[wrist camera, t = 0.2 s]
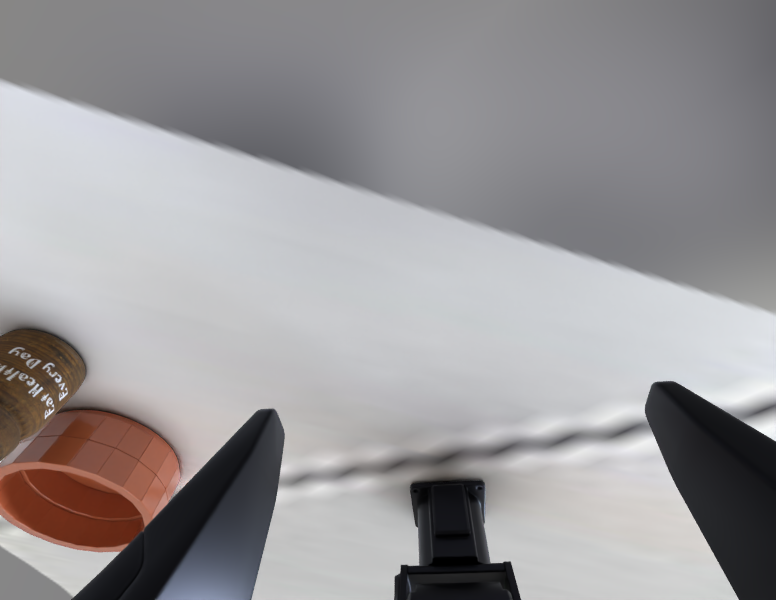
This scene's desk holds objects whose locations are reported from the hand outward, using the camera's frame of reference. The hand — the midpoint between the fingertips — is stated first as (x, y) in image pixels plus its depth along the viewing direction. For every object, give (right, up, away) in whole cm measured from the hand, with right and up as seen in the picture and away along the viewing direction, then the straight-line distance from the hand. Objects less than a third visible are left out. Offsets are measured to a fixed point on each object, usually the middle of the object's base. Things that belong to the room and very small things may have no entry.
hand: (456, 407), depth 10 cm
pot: (-25, -11, +25) cm, 37 cm away
